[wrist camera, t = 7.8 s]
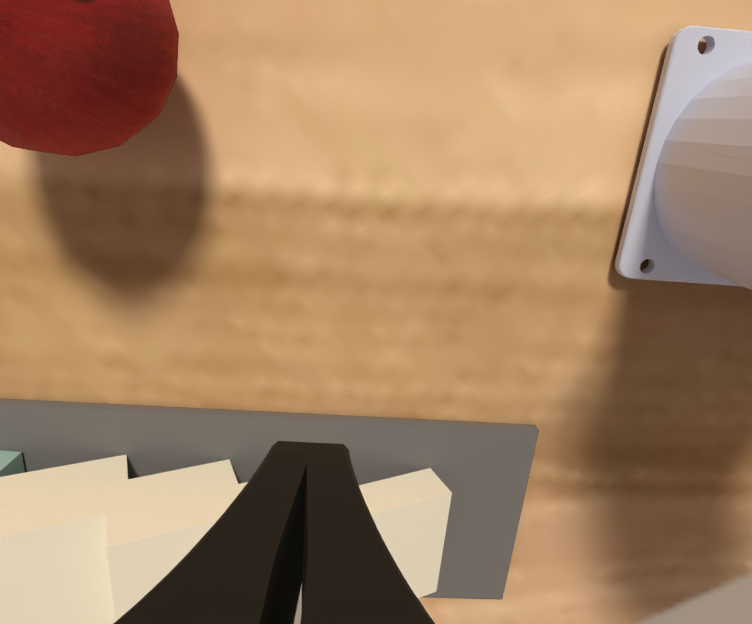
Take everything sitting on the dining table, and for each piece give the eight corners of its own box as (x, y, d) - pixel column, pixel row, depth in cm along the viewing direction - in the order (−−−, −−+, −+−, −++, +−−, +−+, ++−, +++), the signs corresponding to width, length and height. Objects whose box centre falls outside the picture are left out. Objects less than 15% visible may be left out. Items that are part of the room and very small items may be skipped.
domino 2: (238, 484, 19) (-28, 542, 16) (239, 585, 21) (-1, 659, 18) (229, 459, 21) (-18, 508, 17) (231, 556, 23) (7, 619, 19)
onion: (6, -84, 15) (-355, -291, 7) (213, -48, 15) (76, -208, 8) (23, 132, 17) (-246, 145, 9) (207, 159, 17) (93, 190, 10)
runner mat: (535, 425, 21) (538, 430, 21) (499, 592, 24) (502, 599, 24) (-32, 397, 20) (-40, 402, 20) (6, 578, 23) (1, 585, 23)
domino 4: (451, 492, 20) (239, 551, 17) (436, 591, 22) (241, 662, 18) (430, 468, 21) (229, 516, 18) (417, 562, 23) (231, 624, 20)
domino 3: (344, 488, 20) (106, 547, 16) (337, 588, 21) (120, 661, 18) (329, 463, 21) (106, 513, 18) (323, 559, 23) (119, 622, 19)
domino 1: (127, 479, 19) (-166, 537, 16) (138, 582, 21) (-125, 655, 18) (126, 454, 21) (-145, 502, 17) (136, 553, 22) (-108, 615, 19)
